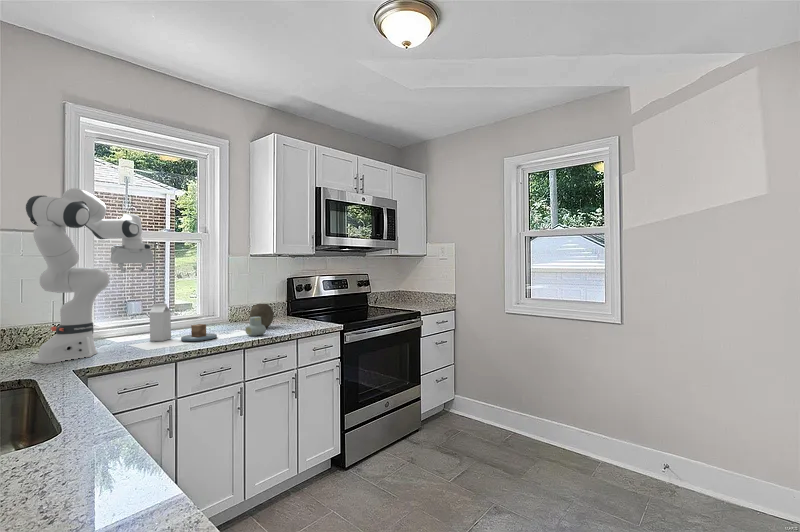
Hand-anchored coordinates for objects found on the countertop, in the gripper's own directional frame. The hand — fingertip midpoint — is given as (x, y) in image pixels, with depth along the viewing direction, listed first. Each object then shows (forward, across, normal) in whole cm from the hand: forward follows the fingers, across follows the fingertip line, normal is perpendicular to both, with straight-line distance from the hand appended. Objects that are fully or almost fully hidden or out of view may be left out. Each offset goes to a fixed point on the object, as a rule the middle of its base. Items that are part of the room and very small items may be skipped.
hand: (132, 272), depth 220 cm
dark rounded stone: (+36, +57, -32) cm, 75 cm away
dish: (+36, +17, -27) cm, 48 cm away
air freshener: (+36, +38, -47) cm, 70 cm away
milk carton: (+36, +8, -10) cm, 38 cm away
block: (+34, +17, -27) cm, 47 cm away
